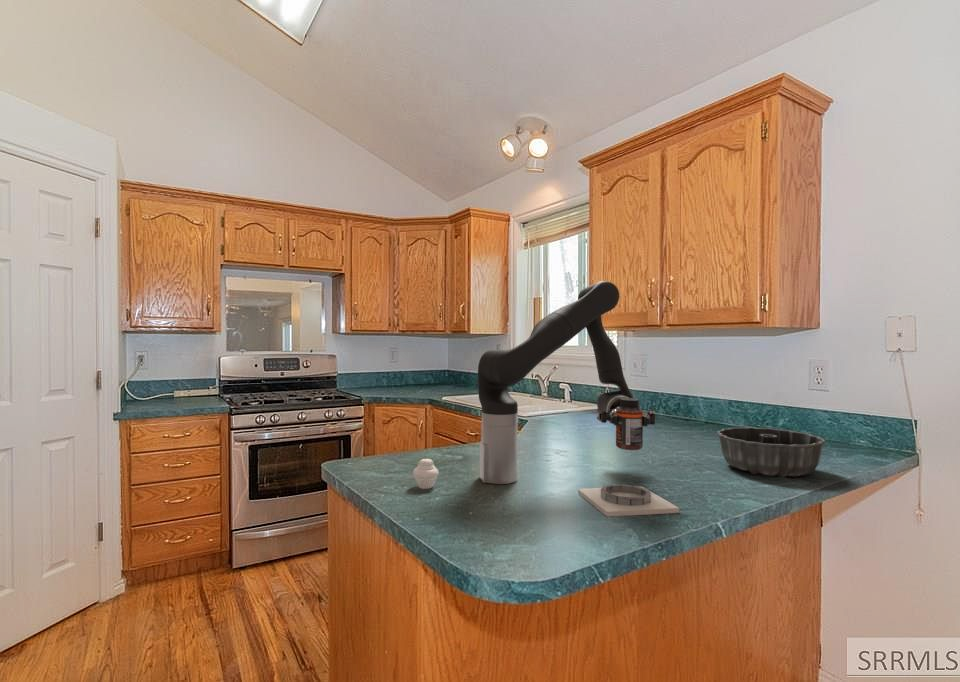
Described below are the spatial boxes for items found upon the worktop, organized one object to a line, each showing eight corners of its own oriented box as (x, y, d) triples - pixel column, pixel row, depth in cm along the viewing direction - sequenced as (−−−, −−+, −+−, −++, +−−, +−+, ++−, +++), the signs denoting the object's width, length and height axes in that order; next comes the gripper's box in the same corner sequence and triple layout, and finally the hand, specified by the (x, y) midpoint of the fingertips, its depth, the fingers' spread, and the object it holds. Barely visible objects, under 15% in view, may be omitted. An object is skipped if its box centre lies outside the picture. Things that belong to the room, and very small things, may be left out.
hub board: (606, 516, 102) (606, 511, 102) (578, 493, 118) (578, 488, 118) (679, 512, 104) (679, 508, 104) (641, 490, 120) (641, 486, 120)
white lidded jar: (413, 483, 124) (413, 455, 124) (438, 483, 125) (438, 455, 125) (412, 491, 118) (412, 461, 118) (438, 490, 119) (438, 461, 119)
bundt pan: (765, 485, 126) (766, 446, 126) (697, 461, 152) (697, 428, 152) (849, 480, 132) (850, 442, 132) (770, 457, 158) (770, 425, 158)
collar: (613, 506, 105) (613, 499, 105) (593, 491, 115) (593, 485, 115) (659, 504, 107) (660, 497, 107) (636, 490, 117) (636, 483, 117)
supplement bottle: (611, 445, 118) (612, 397, 118) (636, 445, 119) (636, 397, 119) (621, 450, 112) (621, 400, 112) (647, 450, 113) (647, 400, 113)
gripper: (593, 395, 131) (598, 403, 114) (651, 397, 128) (664, 405, 112) (593, 424, 131) (597, 436, 114) (651, 426, 128) (664, 439, 112)
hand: (630, 421), depth 113 cm, fingers closed on supplement bottle, 6 cm apart
